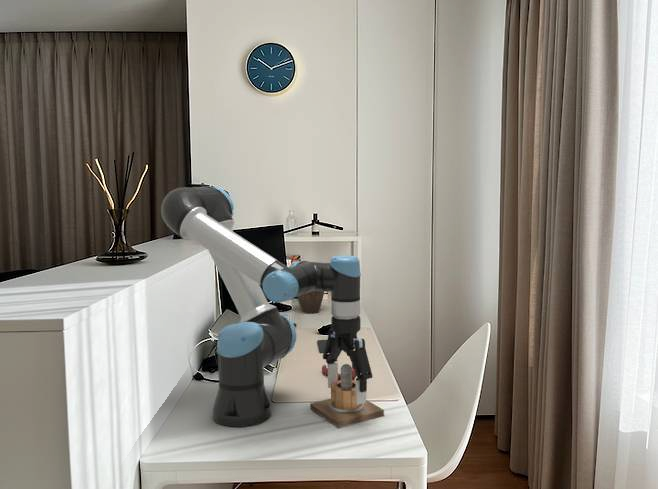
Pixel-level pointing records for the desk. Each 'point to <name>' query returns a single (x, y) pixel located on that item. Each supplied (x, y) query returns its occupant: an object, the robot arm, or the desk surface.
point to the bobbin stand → (346, 416)
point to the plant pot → (311, 301)
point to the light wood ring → (343, 396)
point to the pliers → (325, 372)
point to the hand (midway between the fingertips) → (346, 394)
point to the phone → (321, 345)
